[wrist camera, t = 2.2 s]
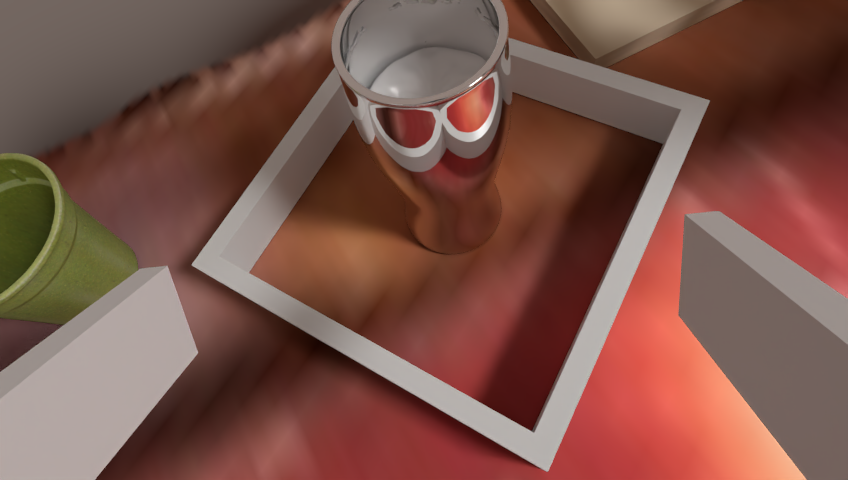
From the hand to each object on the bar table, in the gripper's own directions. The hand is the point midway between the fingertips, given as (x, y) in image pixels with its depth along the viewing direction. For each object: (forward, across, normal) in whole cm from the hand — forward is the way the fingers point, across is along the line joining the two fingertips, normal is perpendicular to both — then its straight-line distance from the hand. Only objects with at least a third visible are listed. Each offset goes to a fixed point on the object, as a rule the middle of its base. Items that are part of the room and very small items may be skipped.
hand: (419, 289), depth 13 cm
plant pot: (+17, -24, -6) cm, 30 cm away
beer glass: (+19, 0, -4) cm, 20 cm away
